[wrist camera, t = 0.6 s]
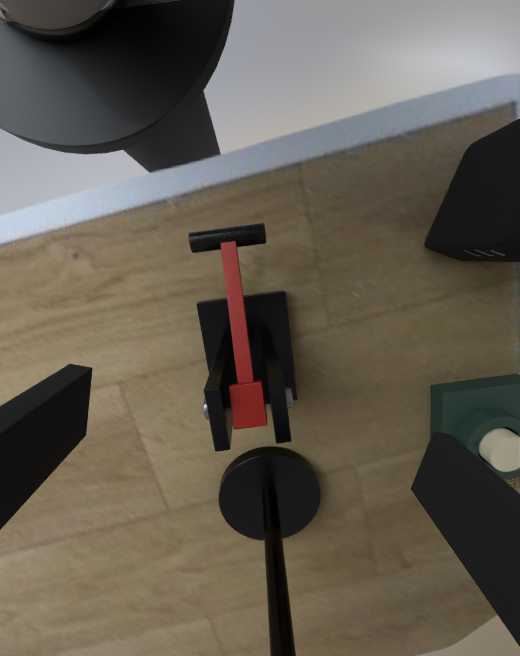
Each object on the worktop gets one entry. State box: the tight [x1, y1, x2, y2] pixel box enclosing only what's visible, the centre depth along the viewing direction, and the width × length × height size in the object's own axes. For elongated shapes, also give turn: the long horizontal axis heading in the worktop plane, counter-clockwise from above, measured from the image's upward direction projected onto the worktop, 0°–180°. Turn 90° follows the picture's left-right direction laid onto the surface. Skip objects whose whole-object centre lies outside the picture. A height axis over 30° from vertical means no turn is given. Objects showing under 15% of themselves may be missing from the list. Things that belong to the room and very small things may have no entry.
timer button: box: [478, 428, 520, 472], centre depth 31 cm, size 4×4×2 cm
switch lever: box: [189, 223, 267, 429], centre depth 21 cm, size 14×6×2 cm, turn 7°
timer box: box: [431, 374, 520, 479], centre depth 33 cm, size 12×10×4 cm
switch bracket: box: [197, 290, 297, 451], centre depth 25 cm, size 12×9×14 cm
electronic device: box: [425, 119, 520, 262], centre depth 24 cm, size 4×10×10 cm, turn 161°
